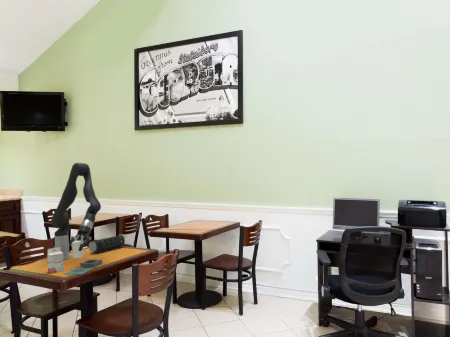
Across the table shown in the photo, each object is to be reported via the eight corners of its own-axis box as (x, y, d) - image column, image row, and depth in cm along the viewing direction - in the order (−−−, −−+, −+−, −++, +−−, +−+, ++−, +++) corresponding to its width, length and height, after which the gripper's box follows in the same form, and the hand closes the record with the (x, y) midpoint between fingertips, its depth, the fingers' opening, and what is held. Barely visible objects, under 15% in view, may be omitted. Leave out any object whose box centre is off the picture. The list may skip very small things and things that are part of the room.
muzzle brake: (125, 247, 301) (124, 235, 301) (95, 255, 278) (95, 241, 278) (118, 246, 306) (117, 234, 306) (88, 253, 284) (87, 240, 284)
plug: (72, 258, 230) (71, 242, 230) (76, 256, 235) (76, 240, 235) (79, 258, 229) (78, 242, 229) (83, 256, 234) (82, 240, 234)
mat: (64, 274, 227) (64, 273, 227) (75, 268, 239) (75, 268, 239) (81, 274, 225) (81, 273, 225) (92, 268, 237) (92, 268, 237)
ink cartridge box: (49, 273, 230) (48, 250, 230) (47, 272, 234) (46, 249, 234) (64, 270, 236) (63, 247, 236) (61, 269, 240) (60, 246, 240)
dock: (80, 267, 243) (80, 263, 243) (88, 263, 253) (88, 259, 253) (94, 267, 241) (94, 263, 241) (102, 263, 251) (101, 259, 251)
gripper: (73, 225, 241) (62, 247, 229) (93, 224, 238) (83, 247, 226) (78, 231, 246) (68, 254, 234) (97, 231, 243) (88, 253, 231)
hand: (75, 250), depth 230 cm, fingers closed on plug, 4 cm apart
